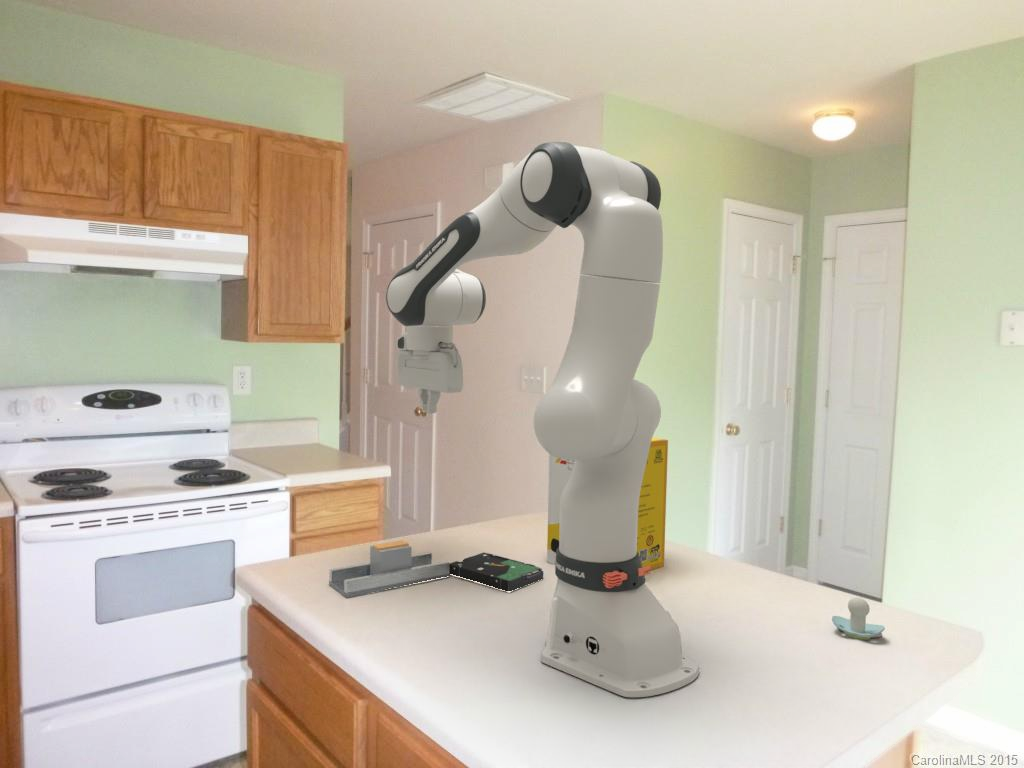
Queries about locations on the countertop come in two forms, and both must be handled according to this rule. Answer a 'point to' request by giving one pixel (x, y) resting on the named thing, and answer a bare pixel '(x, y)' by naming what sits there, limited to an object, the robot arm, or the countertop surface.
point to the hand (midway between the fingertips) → (429, 412)
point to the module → (390, 557)
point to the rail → (385, 576)
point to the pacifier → (858, 621)
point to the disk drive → (496, 571)
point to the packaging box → (648, 509)
